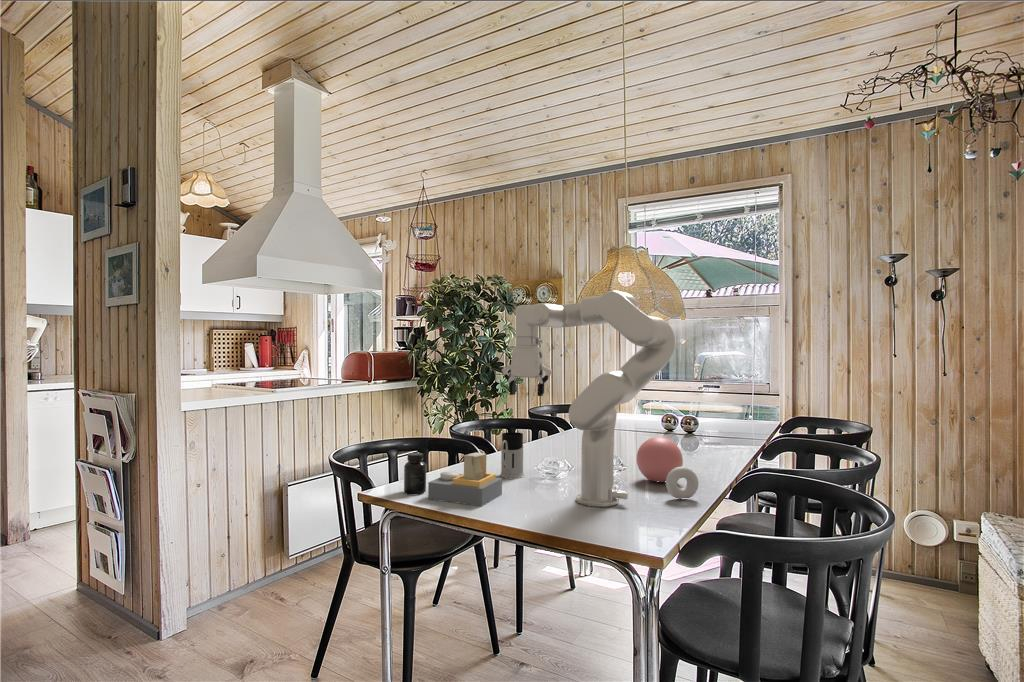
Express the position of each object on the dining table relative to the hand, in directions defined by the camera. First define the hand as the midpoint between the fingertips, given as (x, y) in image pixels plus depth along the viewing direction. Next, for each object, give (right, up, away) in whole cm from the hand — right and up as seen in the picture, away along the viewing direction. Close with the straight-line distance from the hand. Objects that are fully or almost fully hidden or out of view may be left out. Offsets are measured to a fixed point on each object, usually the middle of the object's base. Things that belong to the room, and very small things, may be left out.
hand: (526, 395), depth 177 cm
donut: (+47, -31, -12) cm, 57 cm away
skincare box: (-16, -29, -12) cm, 35 cm away
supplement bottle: (-35, -30, -6) cm, 47 cm away
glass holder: (-6, -31, +15) cm, 35 cm away
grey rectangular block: (-19, -30, -11) cm, 37 cm away
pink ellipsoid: (+47, -31, +12) cm, 57 cm away
